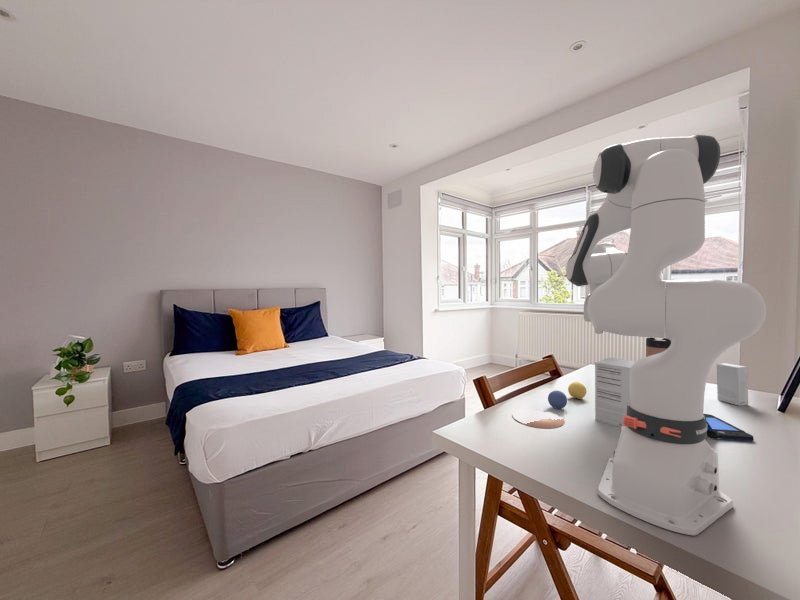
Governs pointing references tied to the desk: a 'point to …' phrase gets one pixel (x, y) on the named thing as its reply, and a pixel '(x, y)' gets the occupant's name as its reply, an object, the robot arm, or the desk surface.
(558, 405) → the ball
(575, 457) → the desk surface
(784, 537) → the desk surface
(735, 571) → the desk surface
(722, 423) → the handheld game console
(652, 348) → the travel mug
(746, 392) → the skincare box
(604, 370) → the supplement box
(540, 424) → the mark
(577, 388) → the ball
